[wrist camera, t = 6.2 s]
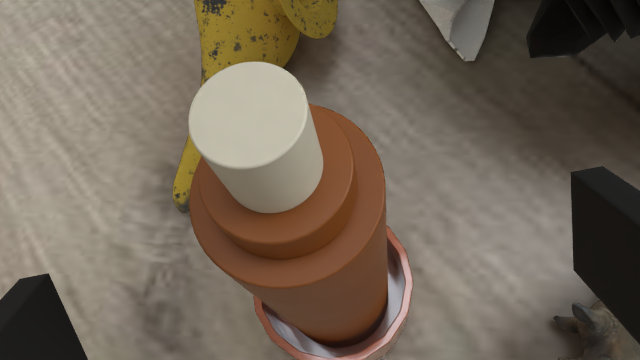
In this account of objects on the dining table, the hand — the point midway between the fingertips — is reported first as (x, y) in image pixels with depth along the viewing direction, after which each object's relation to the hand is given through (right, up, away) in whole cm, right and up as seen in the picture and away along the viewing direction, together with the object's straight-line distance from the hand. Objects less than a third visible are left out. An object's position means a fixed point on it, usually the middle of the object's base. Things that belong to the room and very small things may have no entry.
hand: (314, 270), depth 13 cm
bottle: (+1, -3, +10) cm, 11 cm away
